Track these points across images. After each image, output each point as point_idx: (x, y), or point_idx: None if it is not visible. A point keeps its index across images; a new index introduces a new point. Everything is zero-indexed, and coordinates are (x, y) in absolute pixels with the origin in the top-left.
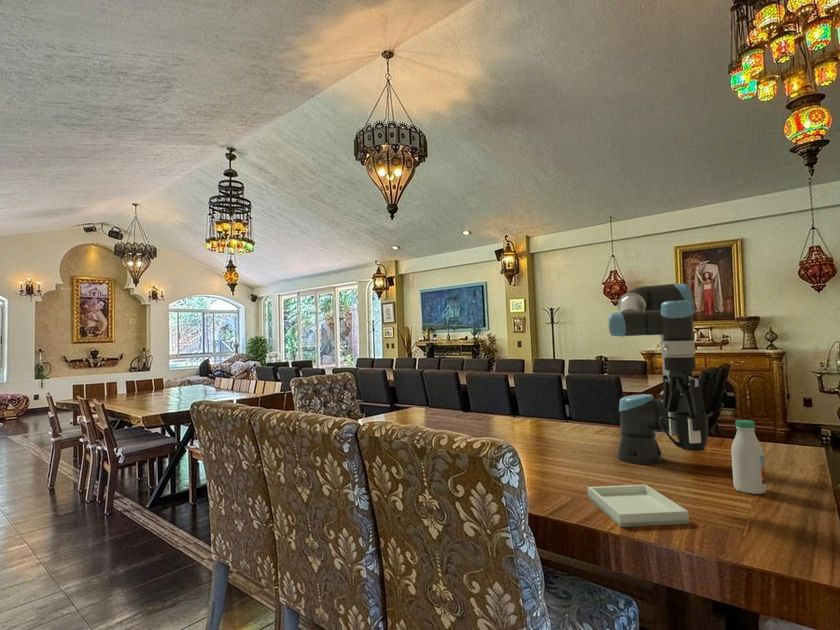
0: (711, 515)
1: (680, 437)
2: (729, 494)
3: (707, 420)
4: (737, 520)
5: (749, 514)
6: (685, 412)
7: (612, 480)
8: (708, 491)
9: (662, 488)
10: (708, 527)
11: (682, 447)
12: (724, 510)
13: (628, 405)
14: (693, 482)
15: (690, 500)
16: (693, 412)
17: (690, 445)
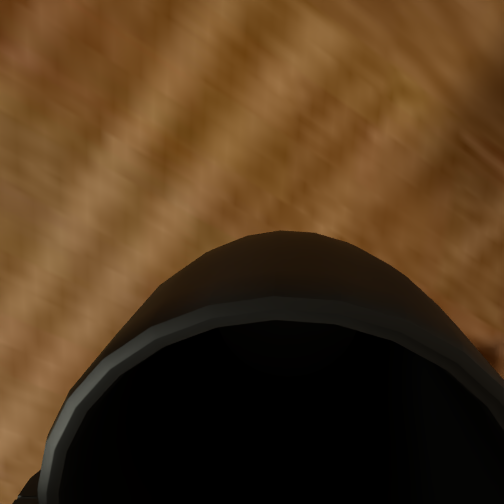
0: (403, 244)
1: (311, 461)
2: (186, 22)
3: (453, 326)
4: (462, 179)
5: (416, 93)
6: (61, 477)
7: (6, 413)
8: (144, 96)
9: (103, 270)
10: (499, 314)
11: (290, 390)
12: (364, 166)
13: None
14: (18, 92)
15: (248, 234)
16: (109, 388)
17: (359, 382)
